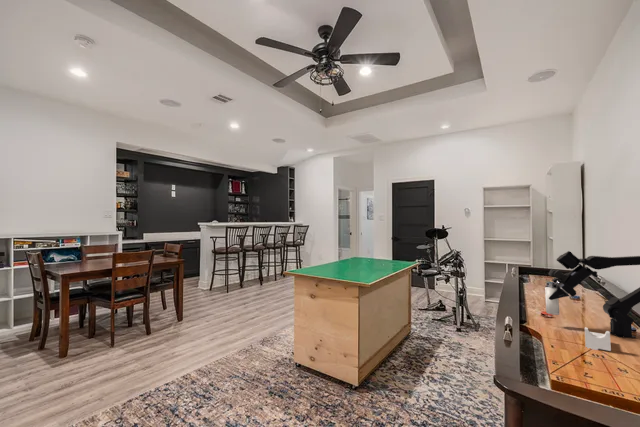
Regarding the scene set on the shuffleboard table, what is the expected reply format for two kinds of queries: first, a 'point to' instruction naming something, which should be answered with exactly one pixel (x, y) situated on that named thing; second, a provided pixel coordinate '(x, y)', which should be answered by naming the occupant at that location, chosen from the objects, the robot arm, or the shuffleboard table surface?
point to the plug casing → (551, 301)
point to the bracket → (597, 340)
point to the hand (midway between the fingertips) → (548, 297)
